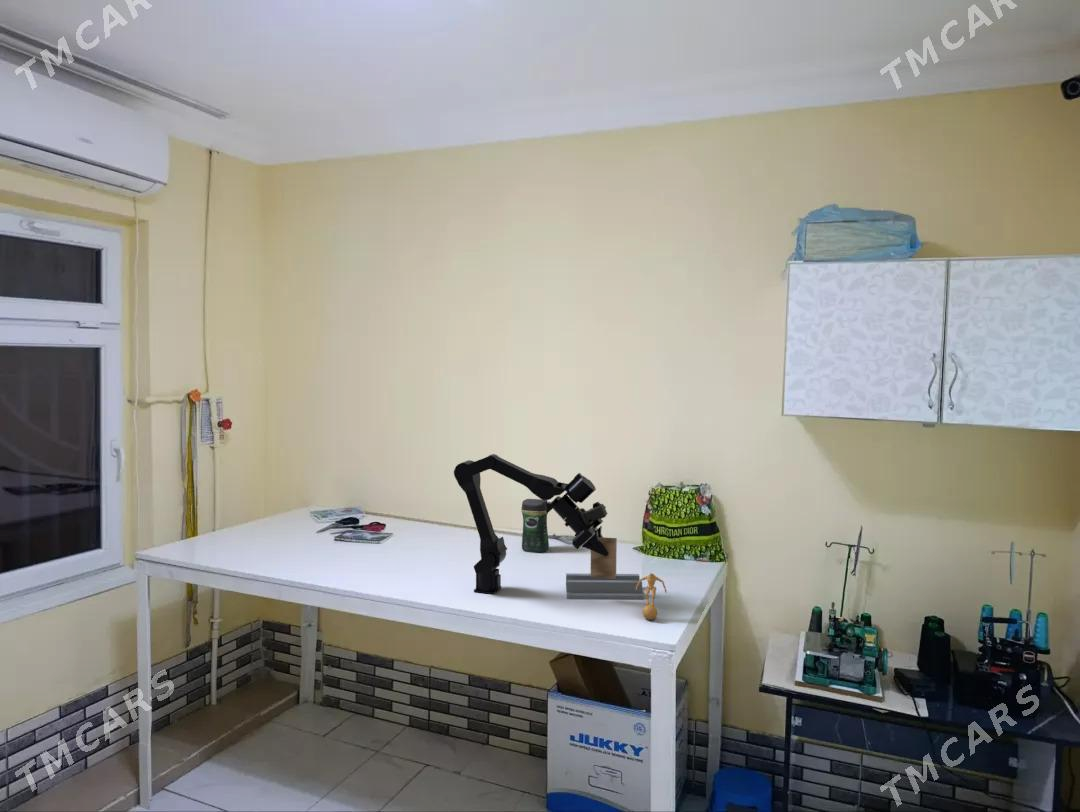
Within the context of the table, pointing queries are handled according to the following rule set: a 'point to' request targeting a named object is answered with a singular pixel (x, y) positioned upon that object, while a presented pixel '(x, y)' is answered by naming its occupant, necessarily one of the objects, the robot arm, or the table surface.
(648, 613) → the figurine
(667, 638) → the table surface
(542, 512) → the coffee jar
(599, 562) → the plaque
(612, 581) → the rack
